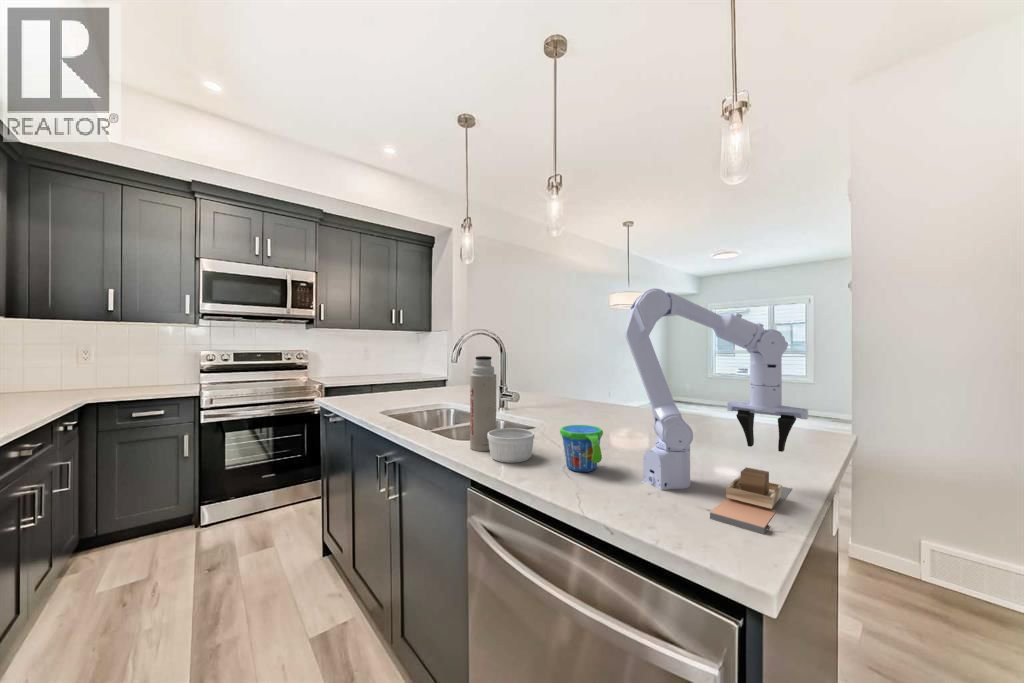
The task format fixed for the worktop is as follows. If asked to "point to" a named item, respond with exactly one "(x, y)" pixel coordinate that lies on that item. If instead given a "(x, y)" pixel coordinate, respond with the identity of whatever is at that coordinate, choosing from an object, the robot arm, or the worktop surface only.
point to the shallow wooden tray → (754, 494)
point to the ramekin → (510, 444)
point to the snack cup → (582, 447)
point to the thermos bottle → (482, 403)
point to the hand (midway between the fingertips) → (765, 448)
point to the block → (755, 481)
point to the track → (747, 513)
